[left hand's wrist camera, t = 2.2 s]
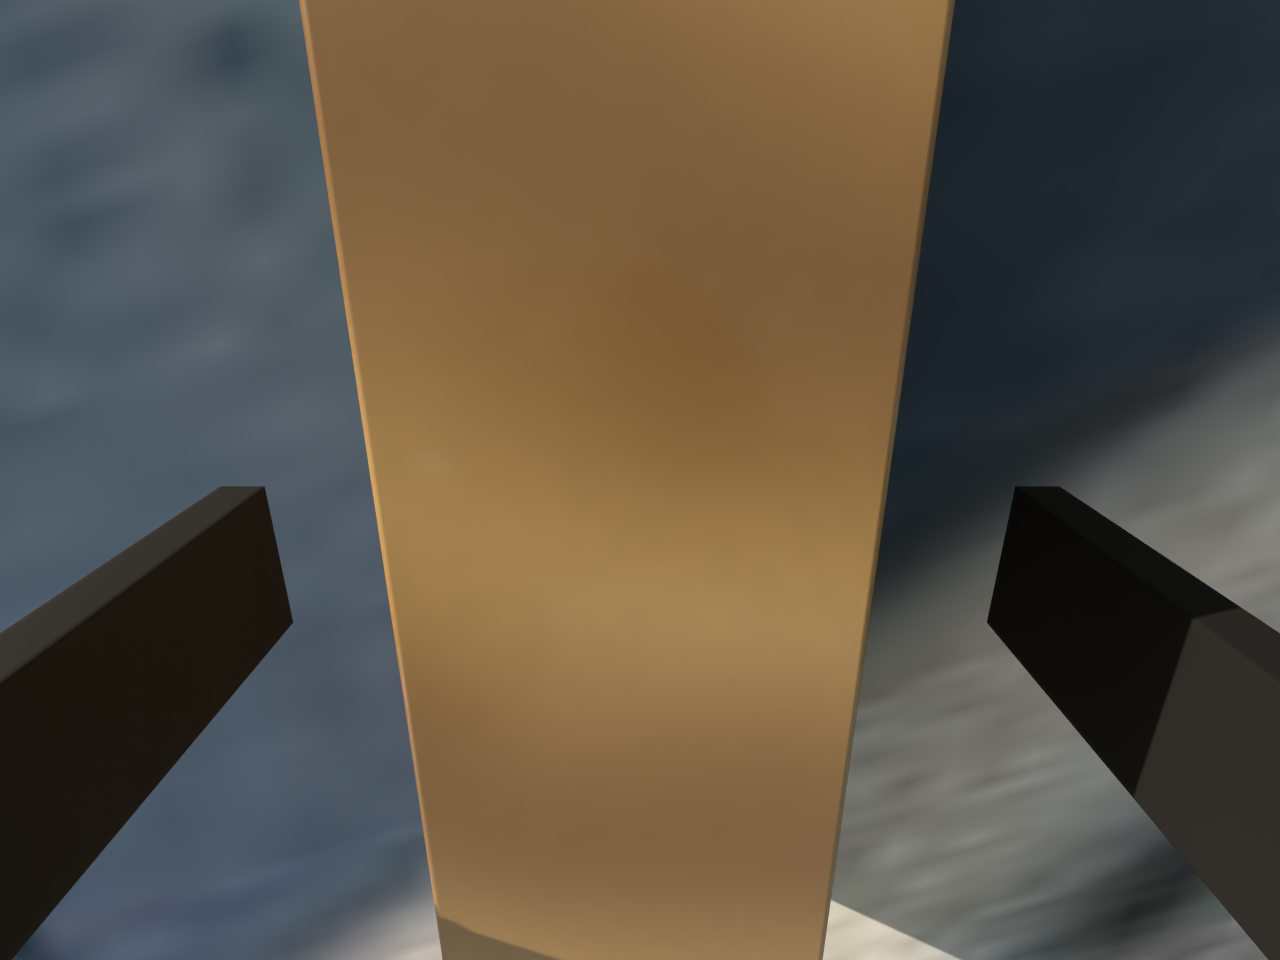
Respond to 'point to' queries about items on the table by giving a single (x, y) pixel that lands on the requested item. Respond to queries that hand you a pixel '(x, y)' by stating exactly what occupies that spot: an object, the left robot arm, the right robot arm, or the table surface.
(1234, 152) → the table surface
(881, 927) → the table surface
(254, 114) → the table surface
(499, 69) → the beam
